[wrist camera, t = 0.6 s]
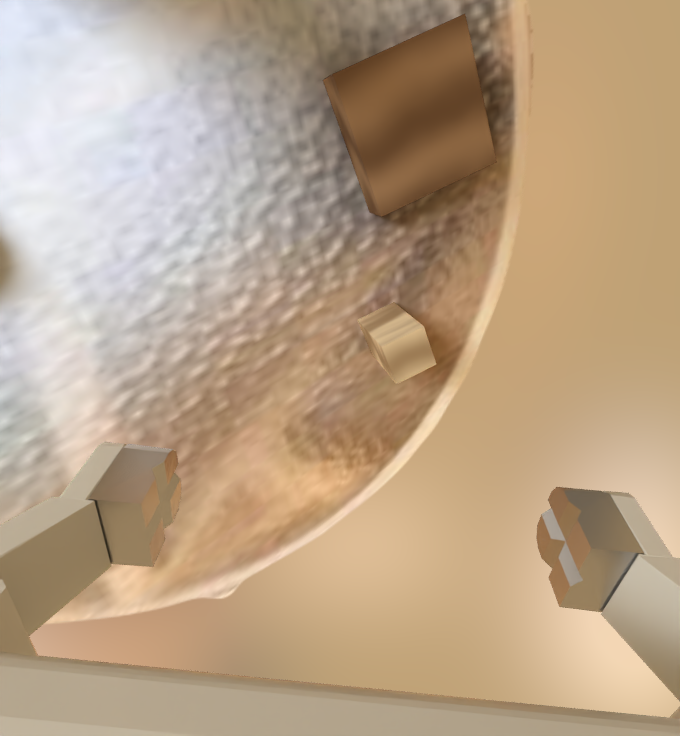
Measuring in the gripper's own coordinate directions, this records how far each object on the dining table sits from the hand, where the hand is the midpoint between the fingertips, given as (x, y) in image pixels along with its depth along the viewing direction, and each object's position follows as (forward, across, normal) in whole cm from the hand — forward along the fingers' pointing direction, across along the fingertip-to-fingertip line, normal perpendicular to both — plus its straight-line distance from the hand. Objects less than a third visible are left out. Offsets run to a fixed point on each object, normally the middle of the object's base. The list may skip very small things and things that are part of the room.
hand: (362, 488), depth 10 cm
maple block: (+40, -3, +16) cm, 43 cm away
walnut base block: (+43, -3, -4) cm, 43 cm away
